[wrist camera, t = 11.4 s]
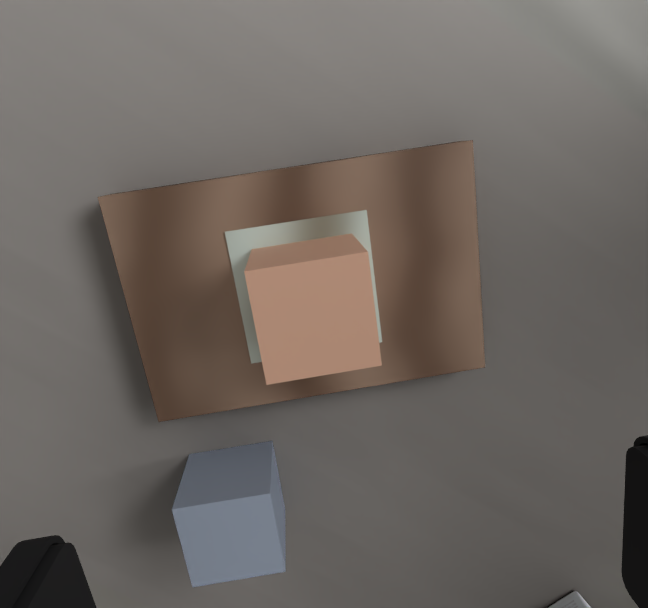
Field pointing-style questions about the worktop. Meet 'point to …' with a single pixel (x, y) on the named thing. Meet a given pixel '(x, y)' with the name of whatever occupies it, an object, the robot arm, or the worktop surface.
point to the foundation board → (288, 227)
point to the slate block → (231, 514)
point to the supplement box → (571, 602)
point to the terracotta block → (313, 308)
